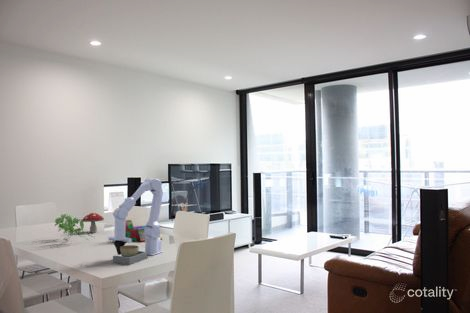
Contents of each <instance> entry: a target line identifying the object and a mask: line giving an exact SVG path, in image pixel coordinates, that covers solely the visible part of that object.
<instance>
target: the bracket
mask: <svg viewBox="0 0 470 313" xmlns="http://www.w3.org/2000/svg"><path fill="white" fill-rule="evenodd" d="M147 259H148V255H147V252H145V251H141V250H138V253H137V255H135V256H132V257H122V255H113V256H112V263H113V264H114V263H115V264H120V265H122V264H123V265H129V266H130V265H133V264H135V263H136V264H137V263H139V262H141V261H144V260H147Z"/></svg>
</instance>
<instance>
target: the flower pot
mask: <svg viewBox="0 0 470 313" xmlns="http://www.w3.org/2000/svg"><path fill="white" fill-rule="evenodd" d="M139 248H140V246H138V245H136V244H135V245H133V244H132V245H131V244H130V245H128V244H127V245H126V244H125V245H124V246H121V247H120V252H121V254H120V256H122V257H132V256H135V255H137V253H138V251H140V249H139Z"/></svg>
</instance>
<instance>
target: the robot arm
mask: <svg viewBox="0 0 470 313" xmlns="http://www.w3.org/2000/svg"><path fill="white" fill-rule="evenodd" d="M140 184H141V185H140V186H138V188H137V189H136V191H135V192H134V193H133V194H132V195H131V196H130V197H125V198H124V201H123V203H121V204H120V205H119V206H118V207H116V208H115V209H114V211H113V212H112V215H113V217H114V236H108V237H107V238H108V239H107V240H108V241H113V245H114V246H115V249H116V253H117V256H121V252H120V247H121V246H126V242H127V243H132V242H131V238H127V237H125V225H126V220H127V219H126V218H127V217H128V215H129V212H130V211H131V210H132V209H133V207H135V205H137V202H136V201H137V200H138V199H139V198H140V197H141V196H142V195H143V194H144V193H145V192H150V193H151V194H152V201H151V204H150V205H151V206H150V211H149V212H150V213H149V217H148V221H147V223H146V224H145V226H146V227H145V228H144V231H143V233H144V235H145V238H146V239H145V242H144V243H145V246H144V248H145V250H144V252H147V256H148V255H149V256H154V255H158V254H160V253H163V250H162V240H161V239H160V238H159V236H160V235H161V225H160V224H159V220H160V218H159V217H160V212H161V209H162V208H161V206H162V202H163V201H162V200H163V194H164V191H163V188H162V187H163V186H162V184H163V183H162V182H161V180H160V179H159V178H150V177H148V178H146V179H145V180H143V182H141V183H140ZM160 237H161V236H160Z"/></svg>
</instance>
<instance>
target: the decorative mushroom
mask: <svg viewBox="0 0 470 313" xmlns="http://www.w3.org/2000/svg"><path fill="white" fill-rule="evenodd" d="M81 219H82V221H83V223H90V227H89V233H96V232H97V231H98V230H97V229H98V227H97V224H96V222H102V221H105V219H104V217H103V216H102V215H100V214H98V213H95V212H90V213H89V214H87V215H85V216H84V217H83V218H81Z"/></svg>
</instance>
